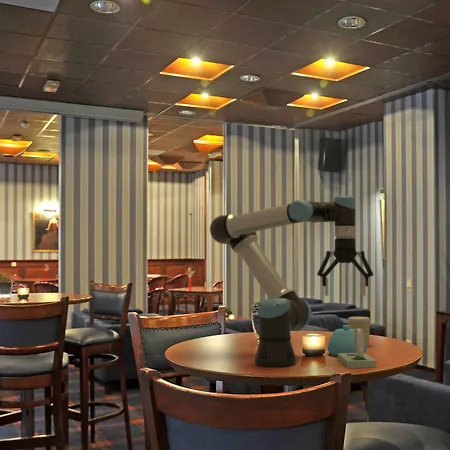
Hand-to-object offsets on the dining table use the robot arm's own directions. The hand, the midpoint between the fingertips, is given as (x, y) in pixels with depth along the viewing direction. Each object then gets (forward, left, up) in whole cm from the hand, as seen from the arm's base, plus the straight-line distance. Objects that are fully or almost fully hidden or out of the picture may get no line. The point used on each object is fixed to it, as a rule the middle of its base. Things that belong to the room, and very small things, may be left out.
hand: (345, 295), depth 220 cm
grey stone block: (+3, -6, -25) cm, 25 cm away
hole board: (+3, -1, -25) cm, 25 cm away
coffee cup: (+14, +36, -25) cm, 46 cm away
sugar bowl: (+4, +17, -25) cm, 30 cm away
